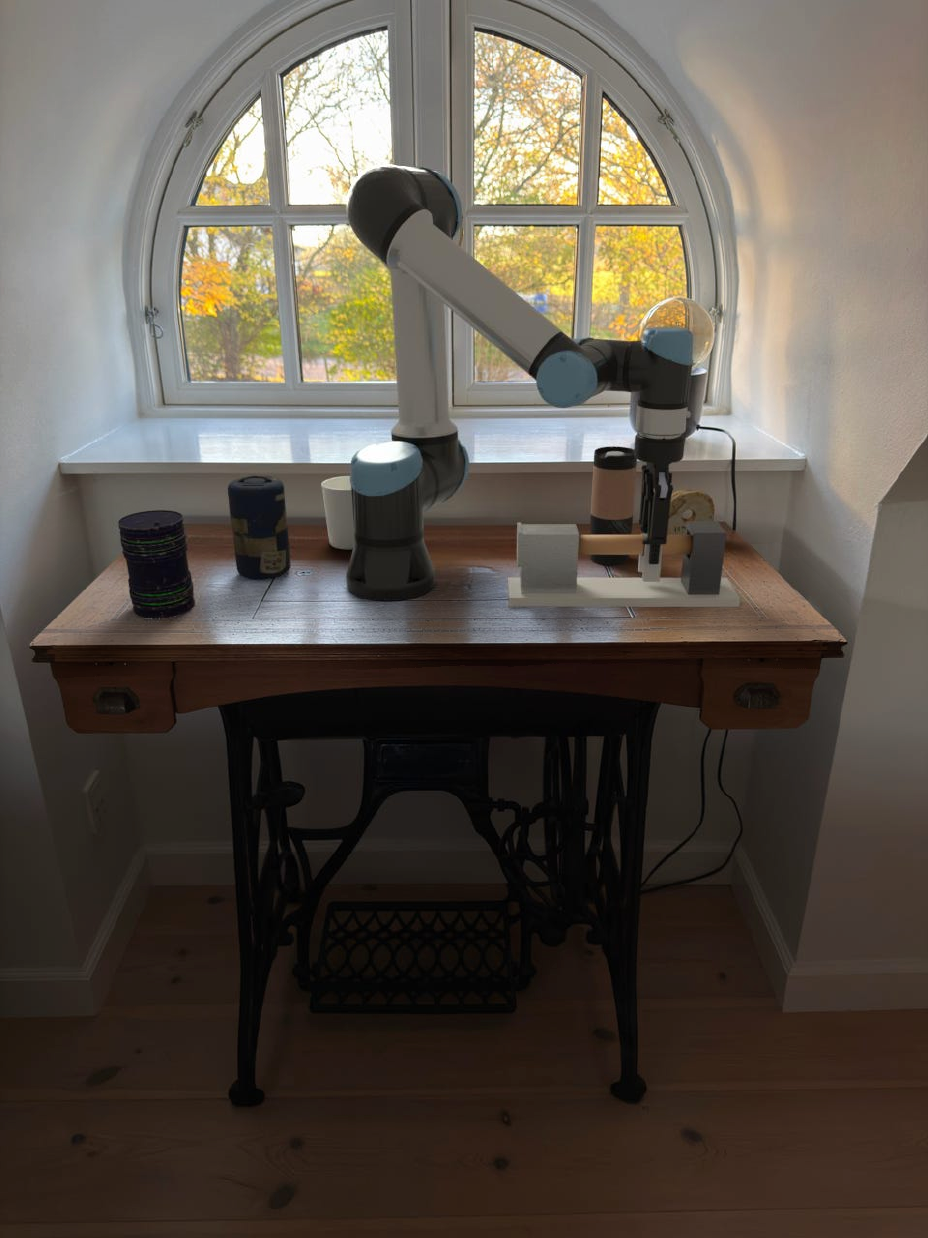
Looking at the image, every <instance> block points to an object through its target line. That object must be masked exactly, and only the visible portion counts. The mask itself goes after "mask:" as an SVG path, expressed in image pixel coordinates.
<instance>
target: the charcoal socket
mask: <svg viewBox="0 0 928 1238" xmlns="http://www.w3.org/2000/svg"><path fill="white" fill-rule="evenodd" d="M685 535H692V546H691V555H682V565H681V574H680V578H681V582H682V584H683V586H684V588H685V590H686V592H687V594H688V595H719V592H720V584H721V578H722V574H723V568H724V567H723V565H724V559H725V558H724V556H725V550H726V549H725V547H726V540H727V531H726V530H725V529H724V527H722V525H721V524H720V522H719V520H714V521H687V522H686V532H685Z"/></svg>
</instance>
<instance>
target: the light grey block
mask: <svg viewBox="0 0 928 1238" xmlns="http://www.w3.org/2000/svg"><path fill="white" fill-rule="evenodd" d="M516 525H517V527H516V564H517V568H519V578H520V589H521V593H534V594H576V590H577V578H578V569H579V568H578V565H579V564H578V562H579V555H578V547H579V535H580V533H579V529H578V527H577V524H576V523H573V524H571V523H569V524H568V523H567V524H565V523H564V524H563V523H559V524H558V523H554V524H553V523H551V524H550V523H549V524H548V523H547V524H545V523H544V524H543V523H541V524H539V523H538V524H537V523H534V524H532V523H529V524H528V523H525V524H523V523H522V522H517V523H516Z"/></svg>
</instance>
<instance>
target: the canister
mask: <svg viewBox="0 0 928 1238" xmlns="http://www.w3.org/2000/svg"><path fill="white" fill-rule="evenodd" d="M227 494H228V495H227V496H228V506H229V507H228V508H229V515H230V516H229V517H230V524H231V525H230V526H231V531H232V539H233V549H234V550H233V551H234V557H235V567H236V571H237V573H238V574H239V575H240V576H241V577H242V578H244V579H248V580H253V581H267V580H273V579H277V578H280V577H282V576H284V575H285V574H288V572H289V571H290V570H291V568H292V567H291V565H292V563H291V555H290V540H289V539H290V537H289V527H288V518H287V508H286V507H287V506H286V494H285V485H284V482H283V481H282V480H281V479H280V478H277V477H275V476H270V475H258V474H257V475H256V474H254V475H253V474H252V475H248V476H244V477H239V478H236V479H233V480H232V481H231V482H230V483H229V484H228V486H227Z"/></svg>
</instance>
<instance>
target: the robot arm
mask: <svg viewBox="0 0 928 1238" xmlns="http://www.w3.org/2000/svg"><path fill="white" fill-rule="evenodd" d="M462 207H463V206H462V202H461V198H460V195H459V193H458V191H457V188H456V187H455V185H454V184H453V183H452V182H451V180H450V179H448V178H447V177H446V176H445V175H444V174H442V173H441V172H439V171H436V170H432V169H431V168H428V167H425V166H410V165H409V166H406V165H405V166H404V165H396V164H388V163H387V164H386V163H382V164H377V165H372V166H370V167H368V168H365V170H363V171H361V172H360V173H359V174H358V176H357V177H355V179H354V180H353V182H352V183H351V185H350V188H349V190H348V194H347V198H346V214H347V215H346V216H347V220H348V224H349V226H350V228H351V230H352V232H353V233H354V236H355V237H356V239H358V240H359V242H360V243H361V244H363V246H364V247H365V248H366V249H368V250H369V251H370V252H371V254H373V255H374V256H375V257H376V258H378V259H379V260H380V263H381V264H382V265H383V266H384V267H385V268H386V269H387V270H388V271H389V273H390V282H391V283H390V284H391V299H392V300H391V301H392V320H393V336H394V339H393V340H394V353H395V368H396V386H397V388H396V390H397V401H398V402H397V403H398V422H397V423H395V425H394V426H393V427H392V429H391V430H390V434H391V435H390V436H391V441H383V442H379V444H377V443H376V444H375V443H373V444H370V445H366V446H364V447H362V448H360V449H359V450H357V451H356V452H355V454H354V455H352V457H351V460H350V473H349V476H350V484H351V494H352V509H353V525H354V540H355V543H354V547H353V549H352V552H351V555H350V559H349V563H348V567H347V569H346V570H347V571H346V575H345V577H346V578H345V579H346V588H347V590H348V591H349V592H350V593H351V594H353V595H354V596H357V597H359V598H363V599H367V600H373V601H399V600H407V599H408V600H409V599H412V598H417V597H419V596H422V595H424V594H426V593H429V592H430V591H431V590H432V589H433V588H434V586H435V585H436V573H435V572H436V571H435V567H434V565H433V562H432V560H431V556H430V554H429V551H428V548H427V546H426V543H425V539H424V537H425V536H424V512H426V511H428V510H430V509H431V508H434V506H437V505H438V504H440V503H443V502H446V501H448V500H449V499H451V498H452V497H453V496H454V495H456V493H458V491H459V490H460V489H462V487H464V485H465V483H466V481H467V478H468V476H469V473H470V472H469V470H470V457H469V454H468V451H467V449H466V447H465V446H464V445H463V444H462V443H461V440H460V439H459V428H458V426H457V425H456V424H455V423H454V422H453V421H452V420H451V419H450V418H449V417H450V415H449V397H448V396H449V393H448V392H449V391H448V390H449V389H448V367H447V366H448V365H447V364H448V363H447V362H448V361H447V341H446V340H447V339H446V337H447V335H446V314H445V311H446V309H445V306H446V307H447V308H448V309H449V310H450V311H452V312H453V313H454V314H456V315H457V316H458V317H459V318H461V320H463V321H464V322H465V323H466V324H468V325H469V326H470V327H471V328H472V329H473V330H475V331H476V332H477V333H478V334H480V335H481V336H482V337H483V338H484V339H486V340H487V341H488V342H489V343H491V345H493V346H494V347H495V348H496V349H498V350H499V351H500V352H501V353H502V354H504V355H505V356H506V357H507V358H508V359H510V361H512V362H513V363H514V364H516V365H517V366H518V367H519V368H520V369H521V370H523V371H524V372H525V373H526V374H528V375H529V376H530V377H531V378H532V379H533V380H534V381H535V384H536V387H537V390H538V393H539V395H540V397H541V398H542V399H543V401H544V402H546V403H547V404H548V405H550V406H552V407H554V408H558V409H568V408H572V407H577V406H580V405H582V404H584V403H586V401H588V400H589V399H592V397H596V396H597V395H599V394H602V393H603V392H606V391H607V392H625V393H626V392H627V393H637V404H636V414H635V415H636V418H635V430H636V432H637V433H636V435H635V436H634V437H635V438H634V448H633V449H634V456H635V458H636V459H637V461H640V462H643V463H646V464H643V465H642V466H641V489H640V491H641V492H640V502H639V503H640V504H639V517H638V518H639V519H638V524H639V525H640V527H639V528H640V529H639V530H640V532H641V533H640V535H641V534H642V533H647V540H642V544H645V549H644V556H641V555H638V566H637V567H638V568H637V571H638V573H642V575H641V578H642V581H643V582H660V578H661V572H662V571H661V570H662V561H663V560H662V558H663V555H662V549H663V544H666V542H667V530H668V520H669V511H670V501H671V495H672V493H673V490H674V486H673V484H672V482H673V481H672V480H673V479H672V478H673V473H672V472H669V471H670V465H671V464H673V463H675V464H676V463H678V462H680V461H682V460H683V458H684V454H685V452H684V451H685V444H686V443H685V442H686V438H685V436H684V435H683V434H684V433H685V432H686V428H687V419H688V418H689V419H690V418H691V415H692V413H691V411H689V410H688V406H689V398H690V397H689V396H690V388H691V380H692V379H691V378H692V372H693V371H692V370H693V364H694V358H693V356H694V353H693V351H694V335H693V333H692V331H691V330H690V329H688V328H684V327H678V326H653V327H647V328H644V330H643V331H642V337H641V338H640V340H619V339H617V340H616V339H606V338H605V339H603V338H601V339H600V338H593V337H586V338H584V337H583V338H571V337H569V336H568V335H567V334H565V332H564V331H562V330H561V329H560V328H559V327H558V326H556V325H555V324H554V323H553V322H552V321H551V320H549V319H548V318H547V317H546V316H544V315H543V314H542V313H541V312H540V311H538V309H536V308H535V307H534V306H532V305H531V304H530V303H529V302H528V301H527V300H526V299H524V298H523V297H522V296H520V295H519V294H518V293H517V292H516V291H514V290H513V289H512V288H511V287H510V286H508V285H507V284H506V283H505V282H504V281H502V280H501V279H500V278H499V277H498V276H496V274H494V273H493V272H491V271H490V270H489V269H488V268H487V267H486V266H485V265H483V264H482V263H481V262H480V261H478V260H477V259H476V258H475V257H474V256H473V255H471V254H470V253H469V252H468V251H466V250H465V249H463V247H461V246H460V245H459V244H458V243H457V242H456V241H454V240H453V239H454V238H455V236H456V235H457V233H458V232H459V229H460V227H461V225H462V224H461V223H462V219H463V209H462Z"/></svg>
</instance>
